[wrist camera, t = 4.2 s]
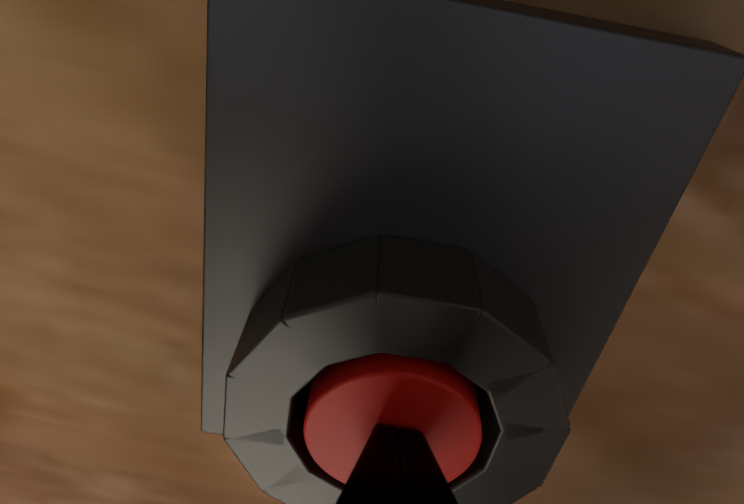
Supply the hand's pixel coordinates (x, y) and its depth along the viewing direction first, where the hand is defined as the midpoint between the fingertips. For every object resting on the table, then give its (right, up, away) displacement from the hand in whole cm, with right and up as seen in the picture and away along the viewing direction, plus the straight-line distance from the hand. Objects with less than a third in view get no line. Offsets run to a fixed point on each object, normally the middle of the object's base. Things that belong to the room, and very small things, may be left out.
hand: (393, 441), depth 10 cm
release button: (0, +1, +1) cm, 2 cm away
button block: (0, +3, +2) cm, 4 cm away
